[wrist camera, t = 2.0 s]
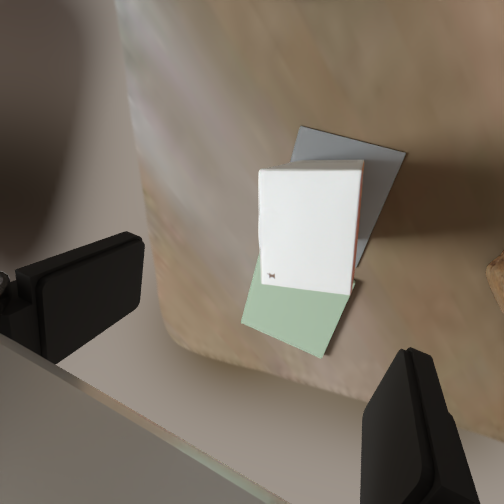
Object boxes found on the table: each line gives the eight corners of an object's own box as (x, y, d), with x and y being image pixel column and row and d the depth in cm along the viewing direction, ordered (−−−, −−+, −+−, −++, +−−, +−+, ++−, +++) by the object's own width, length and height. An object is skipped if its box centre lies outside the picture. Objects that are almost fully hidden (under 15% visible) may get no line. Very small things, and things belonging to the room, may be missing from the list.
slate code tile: (300, 126, 29) (300, 125, 29) (405, 153, 26) (406, 153, 26) (270, 236, 34) (269, 236, 34) (356, 267, 31) (355, 267, 31)
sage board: (262, 246, 34) (260, 248, 34) (355, 280, 32) (355, 283, 31) (243, 319, 39) (240, 322, 38) (322, 354, 36) (321, 358, 36)
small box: (358, 240, 30) (351, 299, 19) (297, 235, 32) (258, 286, 21) (366, 157, 27) (364, 168, 16) (299, 158, 30) (254, 168, 18)
